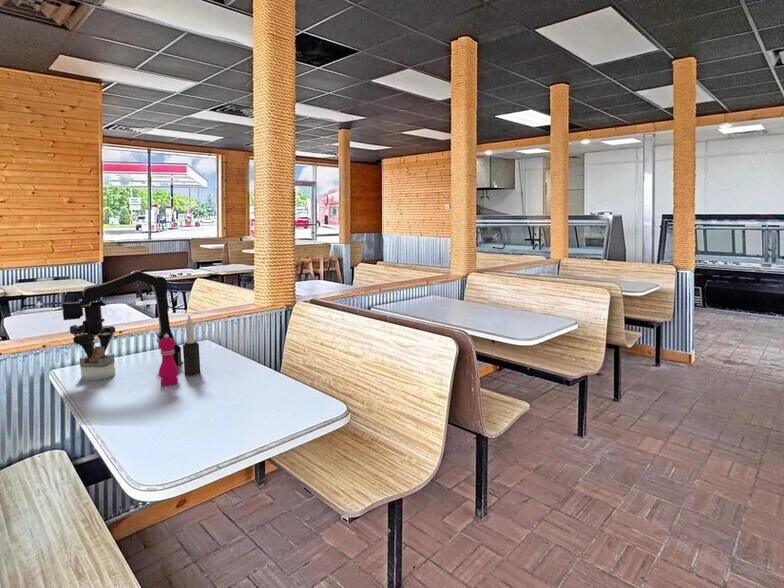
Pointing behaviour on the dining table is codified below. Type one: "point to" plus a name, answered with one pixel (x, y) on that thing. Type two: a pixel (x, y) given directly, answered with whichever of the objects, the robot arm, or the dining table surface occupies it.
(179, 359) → the robot arm
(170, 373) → the pepper mill
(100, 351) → the brown block
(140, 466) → the dining table surface
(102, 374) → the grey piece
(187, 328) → the candle
